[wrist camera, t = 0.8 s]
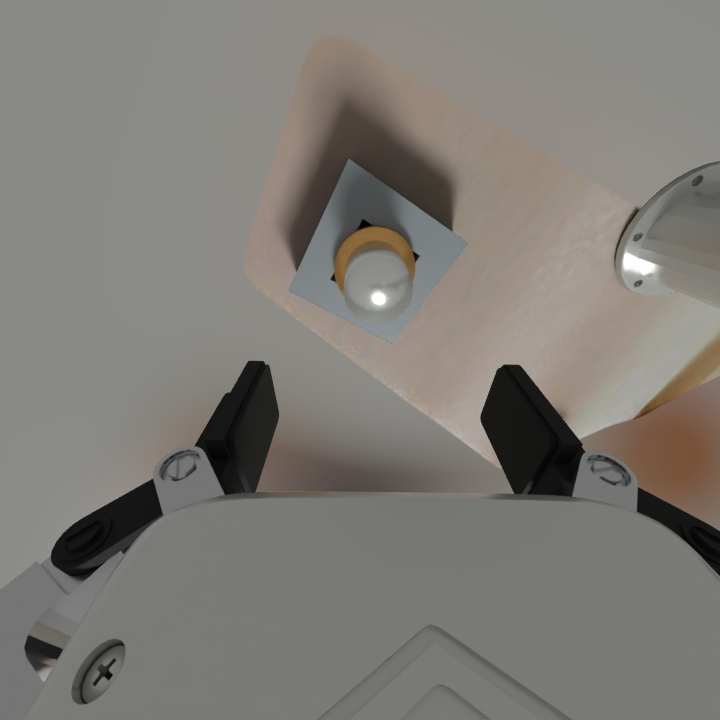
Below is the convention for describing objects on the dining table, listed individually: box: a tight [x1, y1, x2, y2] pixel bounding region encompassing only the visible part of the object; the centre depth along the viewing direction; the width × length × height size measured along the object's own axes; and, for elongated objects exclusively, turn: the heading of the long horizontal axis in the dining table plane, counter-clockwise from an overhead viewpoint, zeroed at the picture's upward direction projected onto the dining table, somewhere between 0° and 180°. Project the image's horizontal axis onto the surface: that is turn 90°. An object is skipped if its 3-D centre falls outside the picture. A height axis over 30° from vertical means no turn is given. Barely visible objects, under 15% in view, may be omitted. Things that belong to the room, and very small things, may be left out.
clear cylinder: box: [334, 225, 415, 324], centre depth 25 cm, size 7×7×10 cm
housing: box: [288, 159, 468, 344], centre depth 28 cm, size 12×12×5 cm
